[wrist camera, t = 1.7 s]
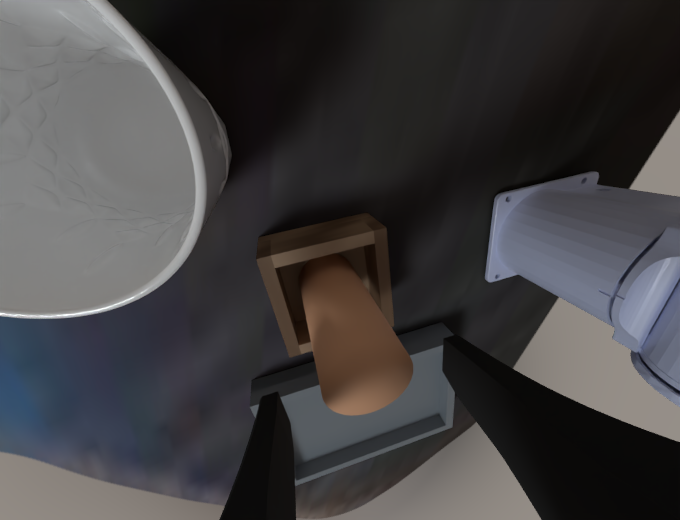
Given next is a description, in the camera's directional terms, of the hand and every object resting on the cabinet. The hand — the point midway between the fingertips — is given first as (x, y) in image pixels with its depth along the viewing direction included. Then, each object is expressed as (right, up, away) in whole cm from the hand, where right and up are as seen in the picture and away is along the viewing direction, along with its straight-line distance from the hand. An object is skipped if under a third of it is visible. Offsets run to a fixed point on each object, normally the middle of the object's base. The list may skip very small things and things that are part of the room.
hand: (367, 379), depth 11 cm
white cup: (-11, +11, +3) cm, 16 cm away
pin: (-2, +4, +8) cm, 9 cm away
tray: (+1, -9, +16) cm, 18 cm away
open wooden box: (-2, +4, +9) cm, 10 cm away
